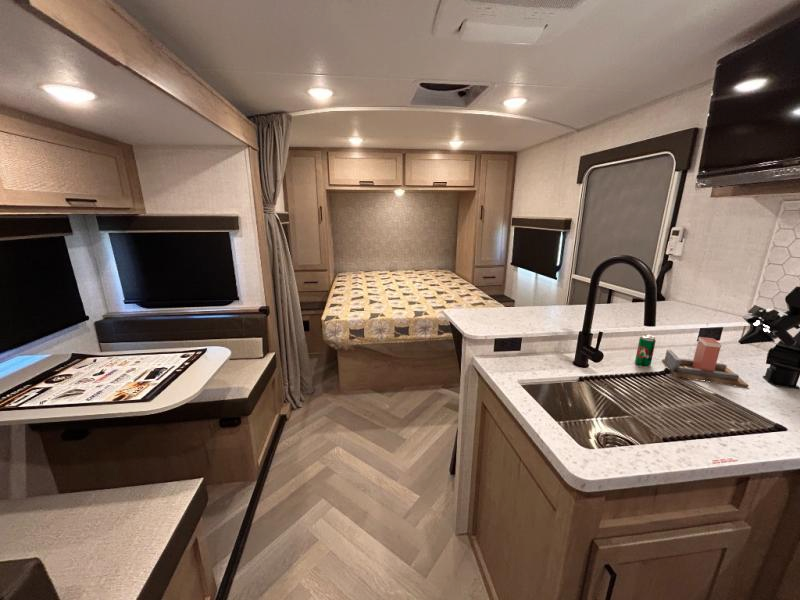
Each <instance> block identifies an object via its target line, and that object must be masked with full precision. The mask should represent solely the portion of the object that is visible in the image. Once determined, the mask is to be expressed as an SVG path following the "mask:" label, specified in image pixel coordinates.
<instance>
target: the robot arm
mask: <svg viewBox="0 0 800 600" xmlns="http://www.w3.org/2000/svg"><path fill="white" fill-rule="evenodd" d="M784 300H785V304H786V306H787V308H785V309H784V310H782V311H779V310H776V309H774V308H771V307H770V308H767V309H765V308H763V307H762V306H758V304H757V305H755V304H753V306H752V307H751V308H750V309H749V310H747V313H748V314H745V315H743V316H742V319H744V322H746V323H747V324H748V325H749V329H748V331H747V332H746V333H745V334H744V335H743V336H742V337H741V338H740V339H738V341H737V342H738V343H739V344H740V345H747V344H758V343H759V344H760V343H775V342H776V341H775V340H777V339H779V341H778V342H777V344H775V346H773V347H771V348H769V350H768V352H767V355H766V361H765V364H766V365H769V367H768V368H766V371H765V375H762V378H763V379H764V380H766V381H767V382H768V383H770V384H771V385H773V386H775V387H776V386H777V387H783V388H790V389H798V390H799V389H800V386H799V385H798V382H799V379H800V285H799V286H795V287H794V288H793V289H792V290H791V291H790V292H789V293H788V294H787V295H786V296H785V298H784ZM791 329H796V330H799V331H798V332H797V333H796V334H795V335H794V336H792V334H791V333H790V332H788V331H790V330H791Z"/></svg>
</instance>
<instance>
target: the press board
mask: <svg viewBox="0 0 800 600" xmlns="http://www.w3.org/2000/svg"><path fill="white" fill-rule="evenodd" d="M664 360H665V358H662V360H661V361H662V364H664V366H665V367H666V366H667V367H668V368H669V369H670V370H671V368H670V367H669V366H668V365H667V364H666V362H665V361H664ZM680 366H681V367H684V366H686V367H688V368H694V367H693V366H687V365H680ZM668 368H667V369H668ZM669 369H668V370H669ZM670 370H669V371H670ZM714 371H718V372H725V373H733V374H736V373H734V371H732V370H731V369H730V368H729V367H727V366H726V369H725V370H717V369H715V370H714ZM671 372H672V373H671ZM670 373H671V374H672V375H673V376H674V378H678V379H679V378H680V377H682V378H680V379H685V378H690V379H689V380H692V379H698V380H697V381H699V380H705V381H704V382H706V381H710V382H709V383H712V382H717V383H716V384H719V383H722V384H721V385H726V384H730V385H729V386H733V385H736V386H735V387H740V386H742V387H741V388H747V387H748V388H749V384H748V383H747V382H746V381H744V380H743V379H742V378H741V377H739V378H738V381H733V380H726V379H719V378H712V377H705V376H698V375H691V374H684V373H677V372H673V371H672V370H671V371H670Z"/></svg>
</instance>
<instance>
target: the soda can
mask: <svg viewBox="0 0 800 600" xmlns="http://www.w3.org/2000/svg"><path fill="white" fill-rule="evenodd" d="M656 341H657V340H656V337H655V336H654V335H652V334H641V336H640V337H639V340H638V344H637V345H638V346H637V349H636V354H635V358H634V359H635V361H634V362H635V364H636V363H637V364H636V365H638V366H640V365H641V367H645V366H646V367H649V366H651V365H652V360H653V356H654V355H653V354H654V351H655V346H656V343H657V342H656Z"/></svg>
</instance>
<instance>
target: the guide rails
mask: <svg viewBox="0 0 800 600" xmlns="http://www.w3.org/2000/svg"><path fill="white" fill-rule="evenodd" d="M664 359H665V360H664V361H665V362H666V364H667V365H668V366H669V367H670V368H671V370H672V371H673V372H677V373H684V374H691V375H698V376H705V377H712V378H719V379H726V380H733V381H738V378H740V375H738V374H737V373H735V374H733V373H734V372H733V373H725V372H718V371H710V370H703V369H695V368H688V367H686V366H684V367H681V366H680V365H687V366H692V364H693V360H694V359H687V358H679V357H678V356H677V354H676V353H674V351H672V350H671V349H666V352H665V357H664ZM726 367H727V365H726V364H725V363H719V362H716V366H715V369H717V370H725V369H726Z"/></svg>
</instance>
